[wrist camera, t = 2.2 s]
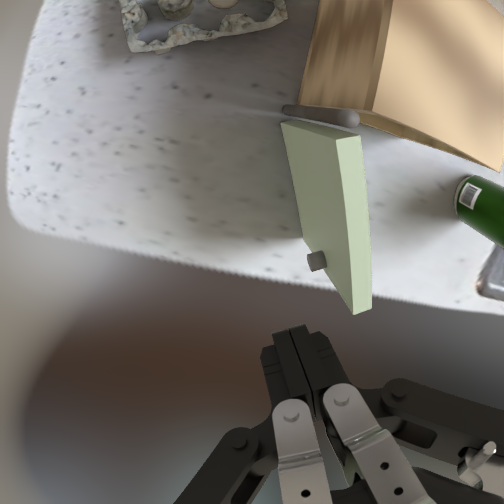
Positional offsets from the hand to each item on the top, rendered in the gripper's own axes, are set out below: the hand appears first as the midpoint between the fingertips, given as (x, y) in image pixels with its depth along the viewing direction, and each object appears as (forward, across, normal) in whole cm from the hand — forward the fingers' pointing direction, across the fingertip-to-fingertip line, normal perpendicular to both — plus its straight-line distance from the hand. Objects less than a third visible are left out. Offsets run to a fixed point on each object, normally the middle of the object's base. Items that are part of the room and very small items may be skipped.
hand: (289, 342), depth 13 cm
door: (+13, -4, -3) cm, 14 cm away
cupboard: (+13, -12, -11) cm, 21 cm away
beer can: (+13, -24, +3) cm, 27 cm away
